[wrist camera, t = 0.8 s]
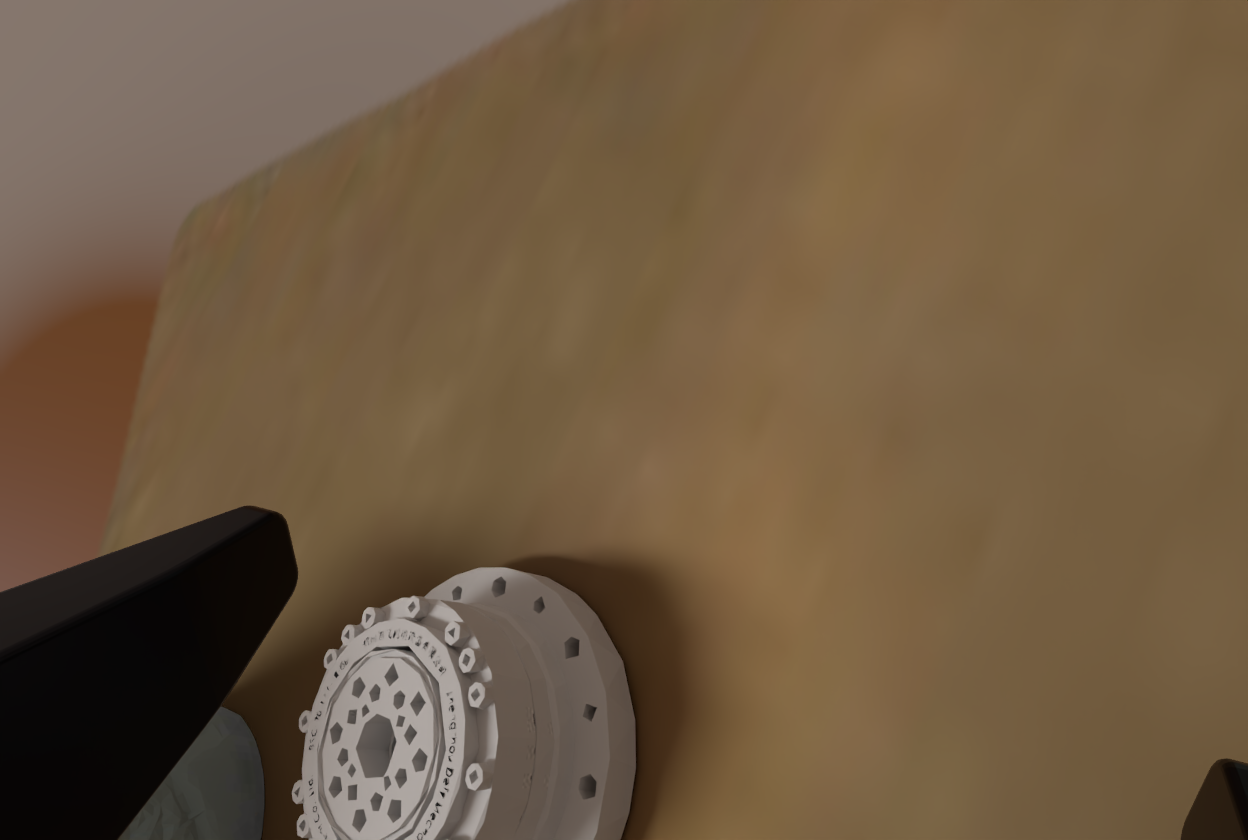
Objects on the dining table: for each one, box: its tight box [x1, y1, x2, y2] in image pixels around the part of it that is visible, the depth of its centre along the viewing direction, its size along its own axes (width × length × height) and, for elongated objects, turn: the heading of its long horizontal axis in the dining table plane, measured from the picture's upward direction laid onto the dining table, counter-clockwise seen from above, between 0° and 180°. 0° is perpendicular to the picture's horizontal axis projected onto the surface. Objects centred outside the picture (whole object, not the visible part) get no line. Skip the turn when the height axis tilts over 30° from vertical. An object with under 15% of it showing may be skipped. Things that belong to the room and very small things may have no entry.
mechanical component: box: [292, 567, 636, 840], centre depth 25 cm, size 10×4×10 cm
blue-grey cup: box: [118, 707, 264, 840], centre depth 30 cm, size 10×10×12 cm
